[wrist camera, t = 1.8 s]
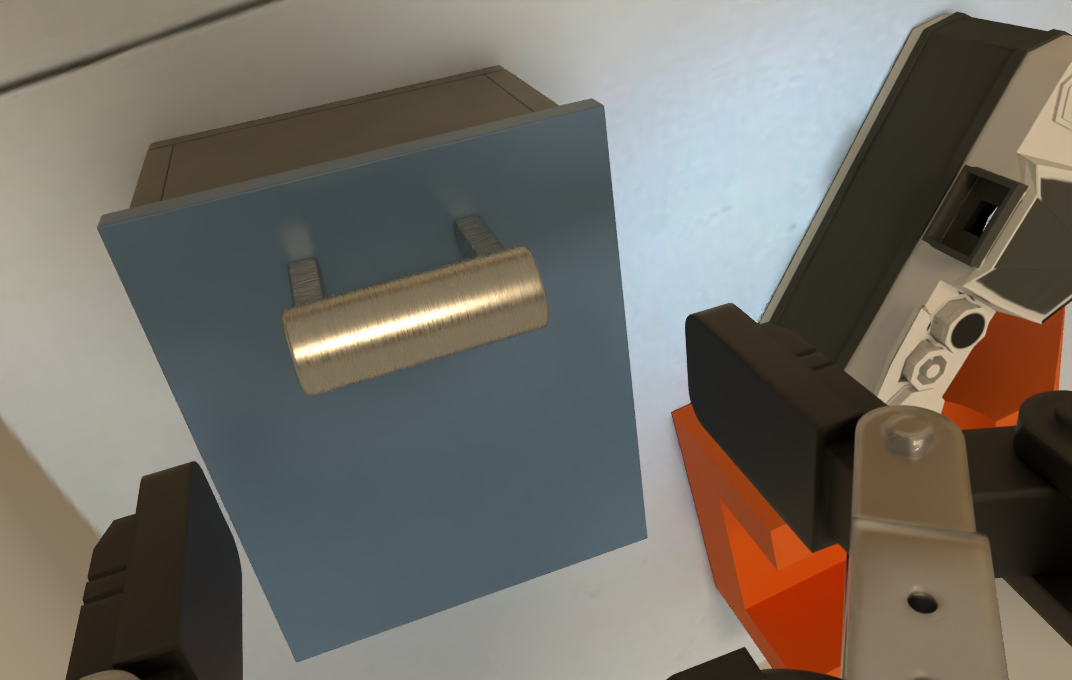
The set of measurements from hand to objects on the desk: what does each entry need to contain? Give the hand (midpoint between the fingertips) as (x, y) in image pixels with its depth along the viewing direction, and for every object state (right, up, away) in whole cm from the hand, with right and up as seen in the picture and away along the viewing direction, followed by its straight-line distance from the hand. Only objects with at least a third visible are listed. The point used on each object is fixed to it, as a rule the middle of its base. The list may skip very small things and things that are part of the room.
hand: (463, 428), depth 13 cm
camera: (+16, +7, +23) cm, 29 cm away
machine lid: (-2, 0, +10) cm, 10 cm away
